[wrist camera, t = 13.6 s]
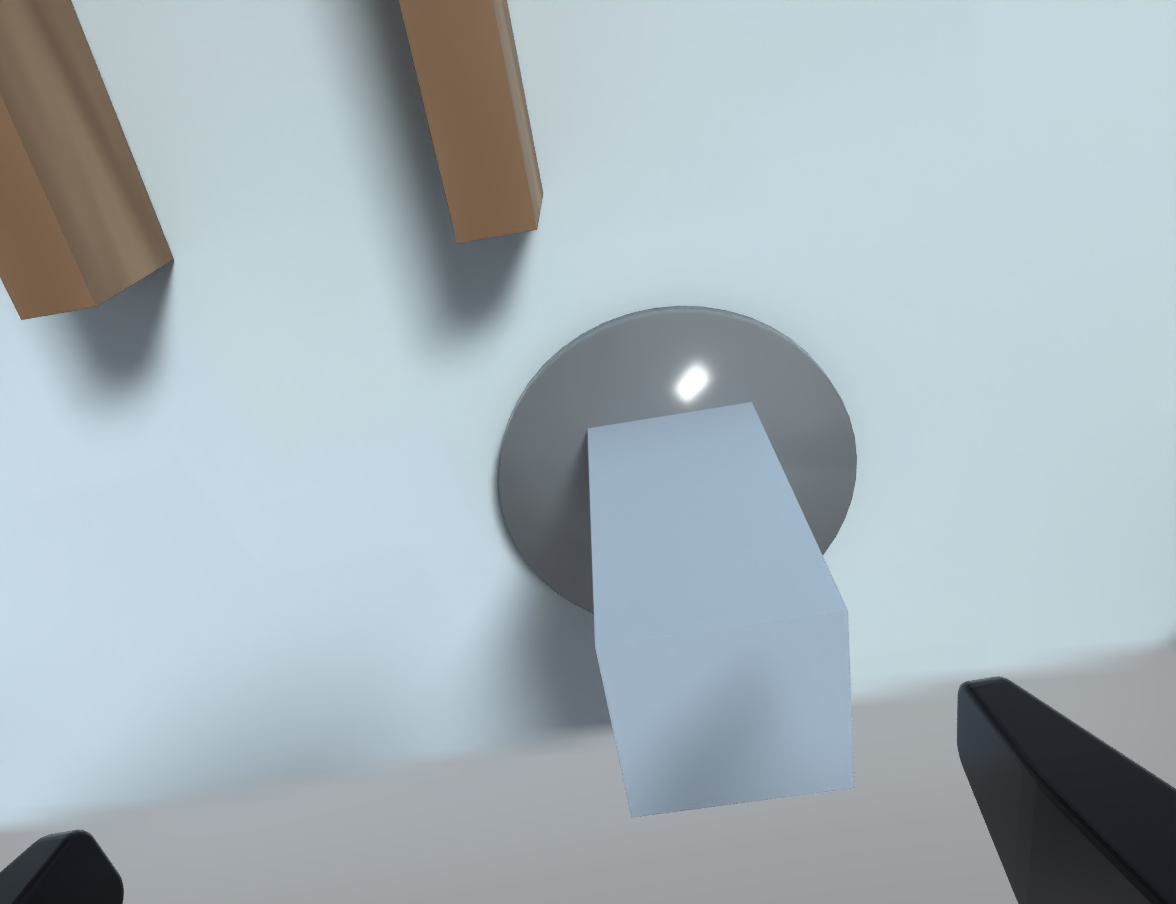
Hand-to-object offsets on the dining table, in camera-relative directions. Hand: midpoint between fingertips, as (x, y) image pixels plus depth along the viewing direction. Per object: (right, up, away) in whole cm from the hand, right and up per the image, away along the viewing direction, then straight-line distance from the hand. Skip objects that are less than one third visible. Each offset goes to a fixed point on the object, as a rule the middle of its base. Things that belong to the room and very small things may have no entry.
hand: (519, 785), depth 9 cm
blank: (+3, +3, +13) cm, 13 cm away
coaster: (+3, +3, +13) cm, 14 cm away
